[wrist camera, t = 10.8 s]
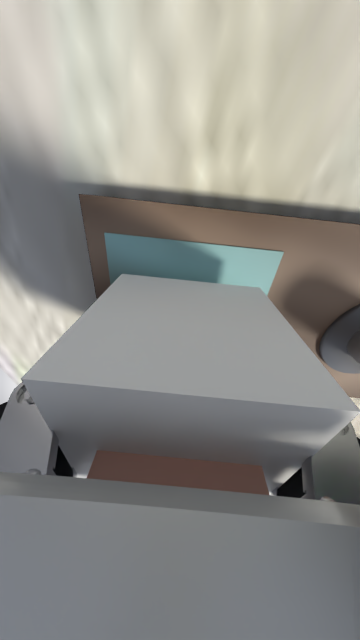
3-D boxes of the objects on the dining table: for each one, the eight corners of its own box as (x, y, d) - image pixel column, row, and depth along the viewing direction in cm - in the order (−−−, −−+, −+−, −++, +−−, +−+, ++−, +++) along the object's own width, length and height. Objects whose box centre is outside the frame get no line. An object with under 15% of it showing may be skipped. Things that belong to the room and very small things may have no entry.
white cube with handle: (260, 287, 9) (401, 462, 3) (228, 379, 12) (263, 541, 6) (122, 273, 8) (-22, 421, 3) (130, 369, 12) (74, 524, 6)
